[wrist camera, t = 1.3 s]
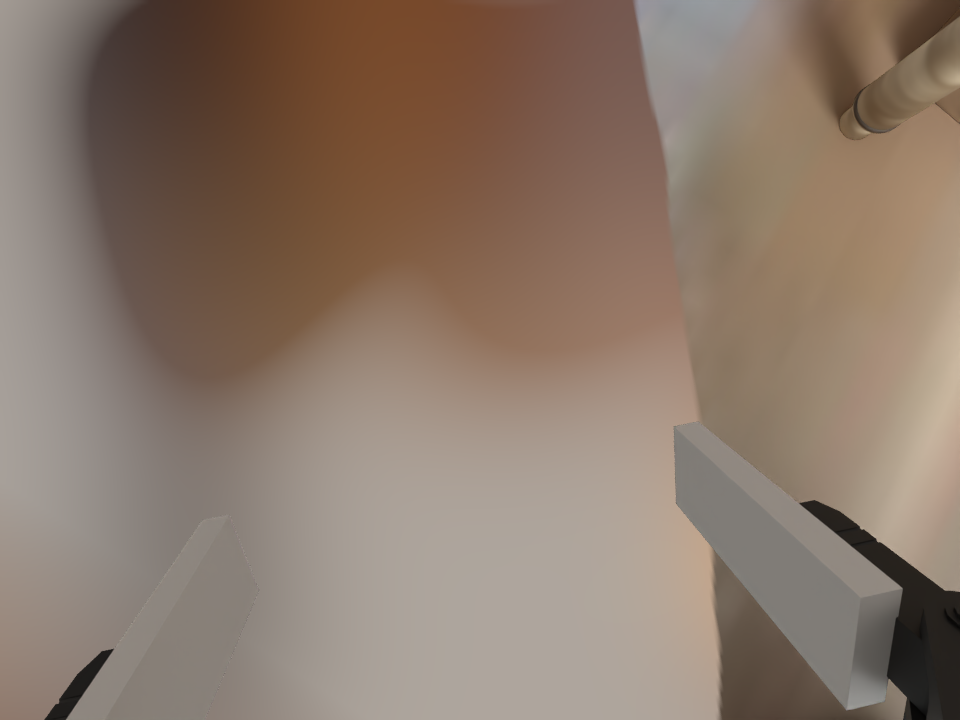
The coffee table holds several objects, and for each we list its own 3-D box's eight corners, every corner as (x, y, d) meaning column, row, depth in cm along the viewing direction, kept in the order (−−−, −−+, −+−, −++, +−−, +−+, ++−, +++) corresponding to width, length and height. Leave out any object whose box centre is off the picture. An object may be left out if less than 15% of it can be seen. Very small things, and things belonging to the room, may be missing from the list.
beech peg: (889, 121, 36) (1139, -35, 22) (858, 156, 36) (1088, 21, 22) (853, 91, 37) (1079, -85, 23) (822, 126, 36) (1028, -28, 22)
